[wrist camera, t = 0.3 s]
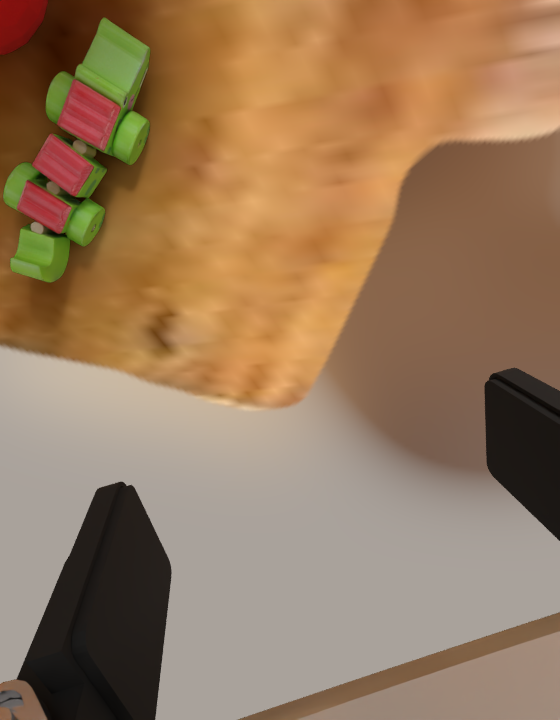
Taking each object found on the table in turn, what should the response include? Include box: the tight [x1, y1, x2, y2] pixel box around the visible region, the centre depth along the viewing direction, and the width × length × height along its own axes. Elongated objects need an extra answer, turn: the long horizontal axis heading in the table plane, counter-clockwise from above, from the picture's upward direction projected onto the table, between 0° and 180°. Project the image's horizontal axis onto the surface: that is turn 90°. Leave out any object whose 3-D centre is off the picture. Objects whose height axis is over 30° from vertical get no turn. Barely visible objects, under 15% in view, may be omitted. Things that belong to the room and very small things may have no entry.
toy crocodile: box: [3, 18, 150, 283], centre depth 30 cm, size 20×7×6 cm, turn 146°
